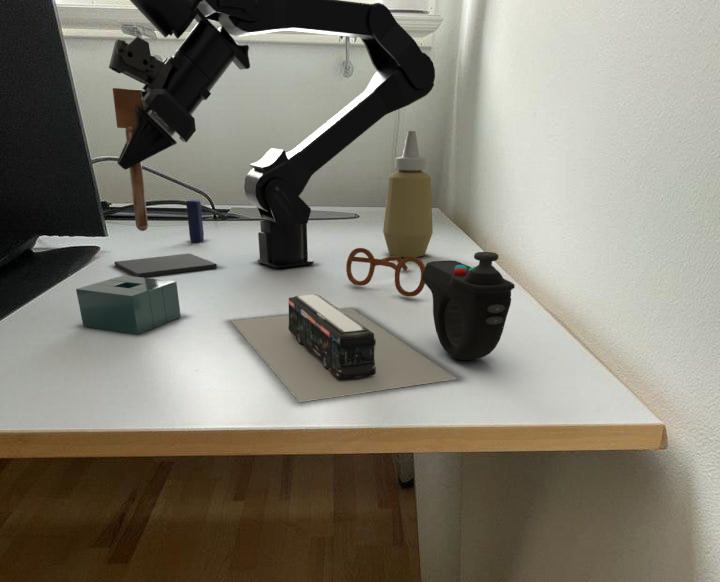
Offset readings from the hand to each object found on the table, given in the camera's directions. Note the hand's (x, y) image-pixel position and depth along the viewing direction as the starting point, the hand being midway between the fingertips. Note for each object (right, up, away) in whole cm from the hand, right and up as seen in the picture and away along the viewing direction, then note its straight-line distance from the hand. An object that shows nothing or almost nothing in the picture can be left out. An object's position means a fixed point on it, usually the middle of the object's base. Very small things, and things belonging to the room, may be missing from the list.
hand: (121, 166), depth 87 cm
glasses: (+39, -15, +3) cm, 41 cm away
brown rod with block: (+1, -7, +5) cm, 8 cm away
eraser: (+2, +1, +31) cm, 31 cm away
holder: (+6, -24, -14) cm, 28 cm away
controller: (+41, -29, -23) cm, 55 cm away
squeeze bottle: (+39, -5, +21) cm, 45 cm away
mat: (+2, -9, +12) cm, 15 cm away
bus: (+29, -28, -21) cm, 45 cm away
